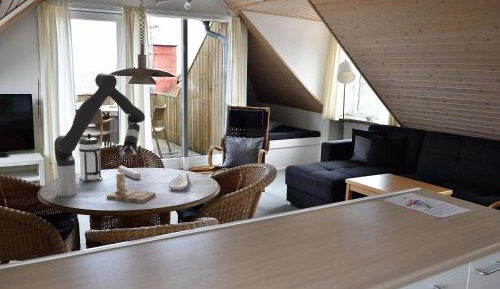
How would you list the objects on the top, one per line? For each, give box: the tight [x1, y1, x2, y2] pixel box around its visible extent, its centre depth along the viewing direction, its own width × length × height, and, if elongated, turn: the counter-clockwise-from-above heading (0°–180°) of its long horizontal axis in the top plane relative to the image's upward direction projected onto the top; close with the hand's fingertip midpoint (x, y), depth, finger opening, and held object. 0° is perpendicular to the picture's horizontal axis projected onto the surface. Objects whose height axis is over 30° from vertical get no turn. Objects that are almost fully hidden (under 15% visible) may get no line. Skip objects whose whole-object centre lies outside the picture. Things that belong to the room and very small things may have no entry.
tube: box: [117, 165, 142, 180], centre depth 277 cm, size 5×5×25 cm
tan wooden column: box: [114, 171, 128, 194], centre depth 232 cm, size 5×5×11 cm
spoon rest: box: [167, 172, 191, 191], centre depth 255 cm, size 24×12×7 cm, turn 172°
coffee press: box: [78, 133, 104, 184], centre depth 261 cm, size 17×16×30 cm
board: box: [106, 189, 156, 204], centre depth 230 cm, size 22×14×2 cm, turn 75°
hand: (126, 161), depth 242 cm, fingers open, 8 cm apart
